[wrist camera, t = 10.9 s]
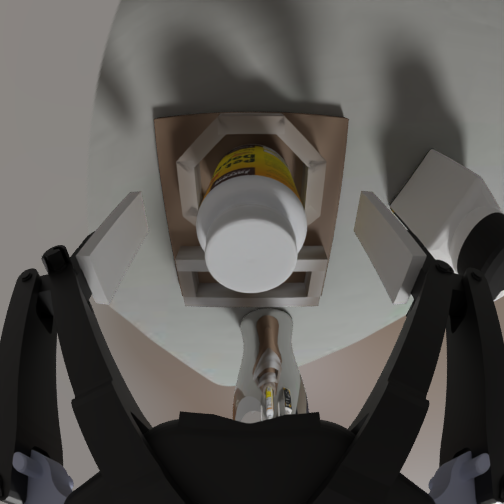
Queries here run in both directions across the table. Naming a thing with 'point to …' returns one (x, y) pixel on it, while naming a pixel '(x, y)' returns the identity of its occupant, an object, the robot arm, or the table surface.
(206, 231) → the supplement bottle
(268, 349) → the beer glass
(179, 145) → the socket board
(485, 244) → the medicine bottle
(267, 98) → the table surface
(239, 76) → the table surface
